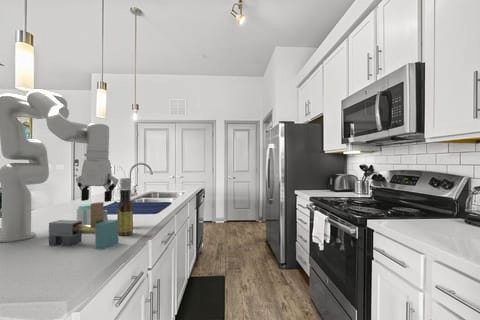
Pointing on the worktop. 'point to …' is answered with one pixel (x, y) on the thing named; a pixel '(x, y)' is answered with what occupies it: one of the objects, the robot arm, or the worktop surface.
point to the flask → (105, 215)
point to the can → (84, 214)
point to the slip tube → (95, 218)
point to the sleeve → (63, 233)
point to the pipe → (124, 182)
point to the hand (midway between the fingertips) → (96, 200)
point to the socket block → (106, 234)
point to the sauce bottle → (125, 213)
